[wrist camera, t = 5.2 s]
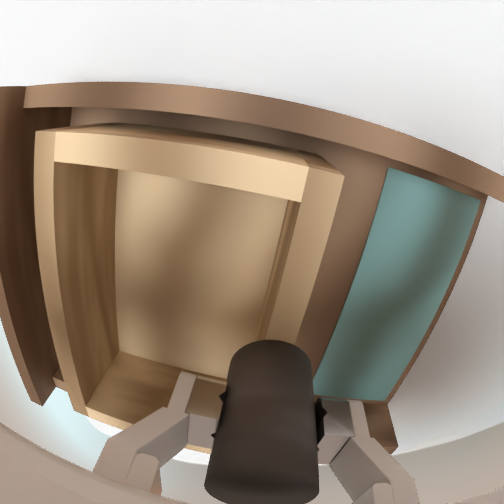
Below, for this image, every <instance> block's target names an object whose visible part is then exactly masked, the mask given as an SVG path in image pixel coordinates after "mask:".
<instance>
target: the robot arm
mask: <svg viewBox="0 0 504 504" xmlns="http://www.w3.org/2000/svg"><path fill="white" fill-rule="evenodd" d="M226 385H227V382H223V381H219V380H215V379H211V378H207V377H203V376H199V375H194V374H191V373H187V372H183V371H182V372H181V373H180V375H179V377H178V380H177V383H176V385H175V388H174V391H173V393H172V396H171V399H170V401H169V404H168V407H167V408H165V407H162V408H160V409H158V410H157V411H155V412H153V413H152V414H150V415H149V416H147V417H145V418H144V419H142V420H140V421H139V422H137V423H135V424H134V425H132V426H130V427H128V428H127V429H125V430H123V431H122V432H120V433H118V434H116V435H115V436H113V437H111V438H109V439H108V440H107V442H106V444H105V446H104V448H103V450H102V452H101V455H100V457H99V459H98V461H97V463H96V465H95V467H94V469H93V472H91V471H89V470H86V469H84V468H82V467H80V466H78V465H76V464H73V463H71V462H69V461H67V460H65V459H63V458H61V457H59V456H57V455H55V454H53V453H51V452H49V451H47V450H45V449H43V448H41V447H40V446H38V445H36V444H34V443H33V442H31V441H29V440H27V439H26V438H24V437H22V436H21V435H19V434H17V433H16V432H14V431H13V430H11V429H9V428H8V427H6V426H5V425H3V424H2V423H0V504H191V503H186V502H182V501H178V500H174V499H170V498H166V497H163V496H161V492H162V487H161V478H160V467H161V466H163V465H164V464H165V463H166V462H168V461H169V460H170V459H171V458H173V457H174V456H175V455H176V454H177V453H179V452H180V451H181V450H182V449H183V448H185V447H186V446H187V444H189V445H194V446H199V447H204V448H209V449H212V446H213V441H214V436H215V432H217V428H218V424H219V419H220V414H221V409H222V404H223V400H224V395H225V390H226ZM315 417H316V432H317V450H318V464H330V465H329V466H330V468H331V469H332V471H333V472H334V473H335V475H336V477H337V478H338V480H339V481H340V483H341V484H342V486H343V487H344V488H345V490H346V491H347V493H348V494H349V496H350V497H351V499H352V500H353V503H352V504H420V503H419V498H418V494H417V489H416V485H415V480H414V479H413V478H412V477H411V476H410V475H409V474H408V472H407V471H406V470H405V469H403V468H402V467H401V466H400V464H399V463H398V462H397V461H396V460H395V459H394V458H393V457H392V456H391V455H390V454H389V453H388V452H387V451H386V450H385V449H384V448H383V447H382V446H381V445H380V444H379V443H378V442H377V441H376V440H375V439H374V438H370V435H369V430H368V425H367V421H366V416H365V411H364V407H363V403H362V402H361V401H356V400H346V399H334V398H323V397H319V398H318V399H317V400H316V402H315ZM448 504H504V487H501V488H498V489H495V490H493V491H490V492H487V493H483V494H480V495H477V496H474V497H471V498H467V499H463V500H460V501H456V502H452V503H448Z"/></svg>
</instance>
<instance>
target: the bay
mask: <svg viewBox="0 0 504 504" xmlns="http://www.w3.org/2000/svg"><path fill="white" fill-rule="evenodd" d="M114 122H116V123H129V124H140V125H151V126H160V127H169V128H177V129H185V130H192V131H200V132H206V133H213V134H219V135H225V136H231V137H237V138H243V139H248V140H254V141H259V142H264V143H269V144H274V145H279V146H284V147H288V148H293V149H297V150H302V151H306V152H310V153H315V154H319V155H320V156H321V157H323V158H324V159H325V160H326V161H327V162H329V163H330V164H331V165H332V166H334V167H335V168H336V169H337V170H338V171H339V172H341V173H342V174H343V175H344V176H345V177H344V181H343V185H342V189H341V192H340V196H339V200H338V204H337V207H336V211H335V215H334V218H333V222H332V226H331V229H330V233H329V236H328V240H327V243H326V247H325V250H324V253H323V257H322V260H321V263H320V267H319V270H318V273H317V277H316V280H315V283H314V286H313V289H312V293H311V296H310V299H309V302H308V305H307V308H306V311H305V314H304V317H303V320H302V323H301V326H300V329H299V332H298V335H297V338H296V341H295V344H294V345H295V346H297V347H298V348H300V349H301V350H302V351H304V352H305V353H306V355H307V356H308V357H309V359H310V362H311V365H312V376H313V389H314V402H316V400H317V399H318V398H319V397H323V398H334V399H346V400H356V401H361V402H362V403H363V407H364V411H365V416H366V421H367V425H368V430H369V435H370V438H374V439H375V440H376V441H377V442H378V443H379V444H380V445H381V446H382V447H383V448H384V449H385V450H386V451H387V452H388V453H389V454H392V453H393V452H394V451H395V450H396V449H397V447H398V444H397V440H396V436H395V432H394V428H393V424H392V420H391V417H390V413H389V409H388V406H387V404H388V402H389V401H390V400H391V398H392V397H393V395H394V394H395V392H396V391H397V389H398V388H399V386H400V385H401V383H402V381H403V380H404V378H405V377H406V375H407V374H408V372H409V370H410V369H411V367H412V365H413V364H414V362H415V360H416V359H417V357H418V355H419V354H420V352H421V350H422V348H423V347H424V345H425V343H426V341H427V339H428V338H429V336H430V334H431V332H432V330H433V328H434V326H435V324H436V323H437V321H438V319H439V317H440V315H441V313H442V311H443V309H444V307H445V305H446V303H447V300H448V298H449V296H450V294H451V292H452V290H453V288H454V285H455V283H456V281H457V279H458V276H459V274H460V272H461V269H462V267H463V264H464V262H465V259H466V257H467V254H468V252H469V249H470V247H471V244H472V241H473V239H474V236H475V233H476V230H477V227H478V225H479V222H480V219H481V216H482V213H483V209H484V206H485V203H486V200H487V196H488V195H489V196H491V197H493V198H495V199H498V200H500V201H502V202H504V177H503V176H501V175H499V174H497V173H495V172H493V171H491V170H489V169H487V168H485V167H483V166H481V165H479V164H477V163H475V162H473V161H470V160H468V159H466V158H464V157H461V156H459V155H457V154H455V153H452V152H450V151H448V150H445V149H443V148H440V147H438V146H435V145H433V144H430V143H428V142H425V141H423V140H420V139H417V138H415V137H412V136H409V135H407V134H404V133H401V132H398V131H395V130H392V129H389V128H386V127H383V126H380V125H377V124H374V123H371V122H367V121H364V120H361V119H357V118H354V117H351V116H347V115H343V114H340V113H336V112H332V111H328V110H325V109H321V108H316V107H312V106H308V105H304V104H299V103H295V102H290V101H285V100H280V99H275V98H270V97H265V96H259V95H254V94H248V93H241V92H235V91H228V90H221V89H213V88H204V87H195V86H185V85H173V84H159V83H139V82H77V83H58V84H45V85H34V86H7V87H0V318H1V321H2V325H3V328H4V331H5V334H6V337H7V341H8V343H9V346H10V349H11V352H12V355H13V358H14V360H15V363H16V365H17V368H18V371H19V373H20V376H21V378H22V381H23V383H24V385H25V388H26V390H27V393H28V395H29V397H30V399H31V401H33V402H35V403H37V404H39V405H41V406H43V405H44V403H45V402H46V400H47V399H48V397H49V396H50V394H51V393H52V391H53V390H54V389H55V387H58V388H60V389H62V390H65V391H67V388H66V385H65V382H64V379H63V376H62V372H61V369H60V365H59V362H58V358H57V354H56V350H55V346H54V342H53V338H52V334H51V329H50V325H49V320H48V315H47V310H46V305H45V300H44V294H43V288H42V281H41V274H40V267H39V259H38V250H37V239H36V227H35V209H34V150H35V133H36V131H40V130H46V129H54V128H61V127H70V126H79V125H89V124H100V123H114Z"/></svg>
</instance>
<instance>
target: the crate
mask: <svg viewBox="0 0 504 504" xmlns="http://www.w3.org/2000/svg"><path fill="white" fill-rule="evenodd" d="M344 177H345V176H344V175H343V174H342V173H341V172H339V171H338V170H337V169H336V168H335V167H334V166H332V165H331V164H330V163H329V162H327V161H326V160H325V159H324V158H323V157H321V156H320V155H319V154H315V153H310V152H306V151H302V150H297V149H293V148H288V147H284V146H279V145H274V144H269V143H264V142H259V141H254V140H248V139H243V138H237V137H231V136H225V135H219V134H213V133H206V132H200V131H192V130H185V129H177V128H169V127H160V126H151V125H140V124H129V123H116V122H114V123H100V124H89V125H79V126H70V127H61V128H54V129H46V130H40V131H36V133H35V150H34V209H35V227H36V239H37V250H38V259H39V267H40V274H41V281H42V288H43V294H44V300H45V305H46V310H47V315H48V320H49V325H50V329H51V334H52V338H53V342H54V346H55V350H56V354H57V358H58V362H59V365H60V369H61V372H62V376H63V379H64V382H65V385H66V388H67V392H68V395H69V397H70V401H71V403H72V406H73V409H74V411H77V412H79V413H81V414H83V415H86V416H88V417H91V418H93V419H95V420H98V421H101V422H103V423H106V424H108V425H111V426H114V427H117V428H119V429H122V430H125V429H127V428H128V427H130V426H132V425H134V424H135V423H137V422H139V421H140V420H142V419H144V418H145V417H147V416H149V415H150V414H152V413H153V412H155V411H157V410H158V409H160V408H162V407H165V408H167V407H168V404H169V401H170V399H171V396H172V393H173V391H174V388H175V385H176V383H177V380H178V377H179V375H180V373H181V372H182V371H183V372H187V373H191V374H194V375H199V376H203V377H207V378H211V379H215V380H219V381H223V382H227V385H226V390H225V395H224V400H223V404H222V409H221V414H220V419H219V424H218V428H217V432H215V436H214V441H213V446H212V449H209V448H204V447H199V446H194V445H189V444H187V446H186V447H185V448H186V449H190V450H194V451H198V452H203V453H207V454H211V455H210V460H209V465H208V469H207V474H206V479H205V483H204V487H205V489H206V491H207V492H208V493H209V494H210V495H211V496H213V497H214V498H216V499H218V500H220V501H222V502H225V503H227V504H305V503H308V502H310V501H311V500H313V499H314V498H315V497H316V496H317V495H318V493H319V472H318V450H317V432H316V417H315V402H314V389H313V376H312V365H311V362H310V359H309V357H308V356H307V355H306V353H305V352H304V351H302V350H301V349H300V348H298V347H297V346H295V345H294V344H295V341H296V338H297V335H298V332H299V329H300V326H301V323H302V320H303V317H304V314H305V311H306V308H307V305H308V302H309V299H310V296H311V293H312V289H313V286H314V283H315V280H316V277H317V273H318V270H319V267H320V263H321V260H322V257H323V253H324V250H325V247H326V243H327V240H328V236H329V233H330V229H331V226H332V222H333V218H334V215H335V211H336V207H337V204H338V200H339V196H340V192H341V189H342V185H343V181H344Z"/></svg>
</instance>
